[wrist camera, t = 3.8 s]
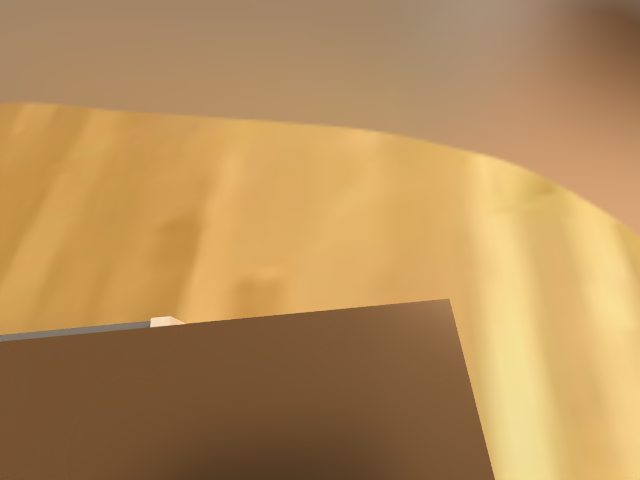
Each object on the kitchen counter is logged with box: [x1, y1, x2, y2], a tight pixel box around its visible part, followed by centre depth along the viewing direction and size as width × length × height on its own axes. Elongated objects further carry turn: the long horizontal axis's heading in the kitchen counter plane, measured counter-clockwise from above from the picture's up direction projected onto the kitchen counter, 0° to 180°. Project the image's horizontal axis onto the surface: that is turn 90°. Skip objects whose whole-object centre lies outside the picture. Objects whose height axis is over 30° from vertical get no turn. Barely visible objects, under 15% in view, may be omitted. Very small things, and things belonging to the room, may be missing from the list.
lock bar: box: [0, 299, 495, 480], centre depth 8 cm, size 4×4×12 cm
